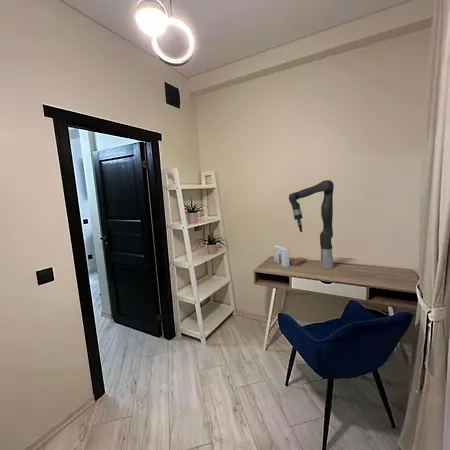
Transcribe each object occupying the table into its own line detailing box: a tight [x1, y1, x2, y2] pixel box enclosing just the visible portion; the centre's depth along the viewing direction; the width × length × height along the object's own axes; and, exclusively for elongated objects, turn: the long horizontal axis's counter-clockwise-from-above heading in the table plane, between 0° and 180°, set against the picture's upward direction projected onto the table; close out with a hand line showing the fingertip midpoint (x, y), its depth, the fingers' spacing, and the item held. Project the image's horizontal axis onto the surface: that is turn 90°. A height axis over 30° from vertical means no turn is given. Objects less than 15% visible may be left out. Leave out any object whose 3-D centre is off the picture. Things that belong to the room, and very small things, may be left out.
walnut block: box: [289, 257, 307, 267], centre depth 239 cm, size 4×8×16 cm
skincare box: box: [272, 244, 291, 268], centre depth 241 cm, size 21×6×16 cm, turn 17°
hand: (301, 231), depth 240 cm, fingers closed
